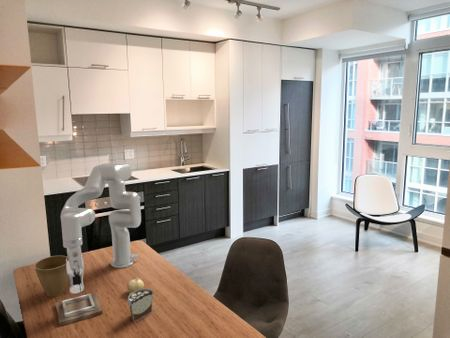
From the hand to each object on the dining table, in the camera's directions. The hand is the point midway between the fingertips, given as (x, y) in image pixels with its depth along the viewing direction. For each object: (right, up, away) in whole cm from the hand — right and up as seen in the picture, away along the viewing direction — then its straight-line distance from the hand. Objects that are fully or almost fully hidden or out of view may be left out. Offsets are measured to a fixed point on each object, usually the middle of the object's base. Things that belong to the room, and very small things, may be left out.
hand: (76, 280), depth 149 cm
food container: (+28, -15, -1) cm, 31 cm away
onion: (+22, -11, +17) cm, 30 cm away
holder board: (0, -14, +3) cm, 14 cm away
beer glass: (0, -5, +1) cm, 5 cm away
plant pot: (-17, -12, +17) cm, 27 cm away
